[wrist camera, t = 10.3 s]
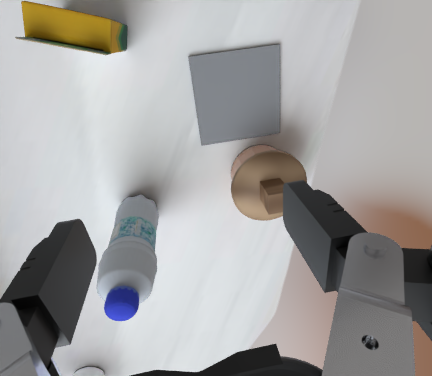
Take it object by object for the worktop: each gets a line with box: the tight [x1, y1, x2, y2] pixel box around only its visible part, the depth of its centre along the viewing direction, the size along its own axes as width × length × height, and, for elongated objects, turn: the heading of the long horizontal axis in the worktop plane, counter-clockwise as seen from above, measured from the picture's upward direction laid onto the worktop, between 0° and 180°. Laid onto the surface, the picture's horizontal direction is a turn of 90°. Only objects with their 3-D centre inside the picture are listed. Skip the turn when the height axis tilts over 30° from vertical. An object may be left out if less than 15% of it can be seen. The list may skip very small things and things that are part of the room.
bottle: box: [97, 195, 159, 321], centre depth 36 cm, size 7×7×20 cm
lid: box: [231, 150, 307, 220], centre depth 38 cm, size 11×11×5 cm
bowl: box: [231, 145, 277, 180], centre depth 43 cm, size 9×9×5 cm
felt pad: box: [189, 44, 280, 145], centre depth 38 cm, size 12×12×1 cm
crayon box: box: [15, 1, 127, 55], centre depth 28 cm, size 7×3×12 cm, turn 80°
